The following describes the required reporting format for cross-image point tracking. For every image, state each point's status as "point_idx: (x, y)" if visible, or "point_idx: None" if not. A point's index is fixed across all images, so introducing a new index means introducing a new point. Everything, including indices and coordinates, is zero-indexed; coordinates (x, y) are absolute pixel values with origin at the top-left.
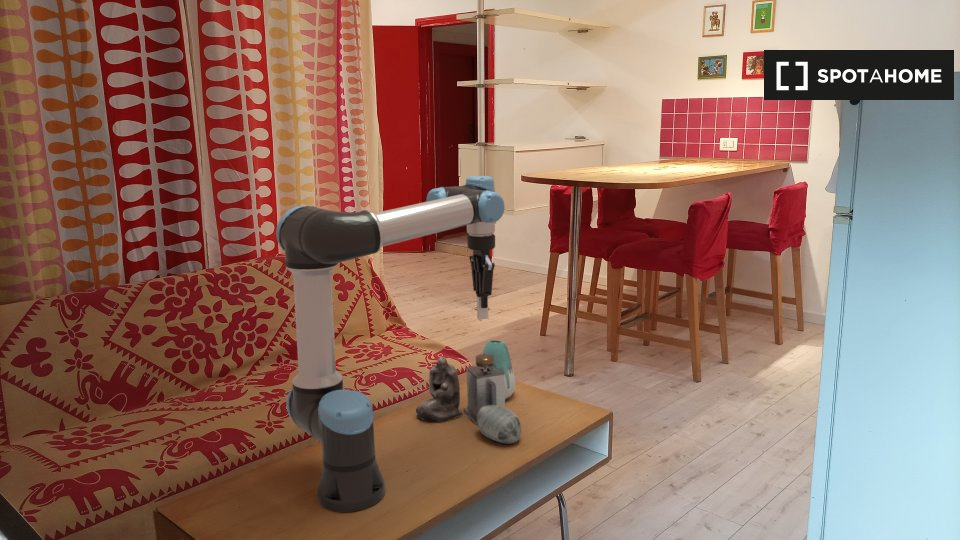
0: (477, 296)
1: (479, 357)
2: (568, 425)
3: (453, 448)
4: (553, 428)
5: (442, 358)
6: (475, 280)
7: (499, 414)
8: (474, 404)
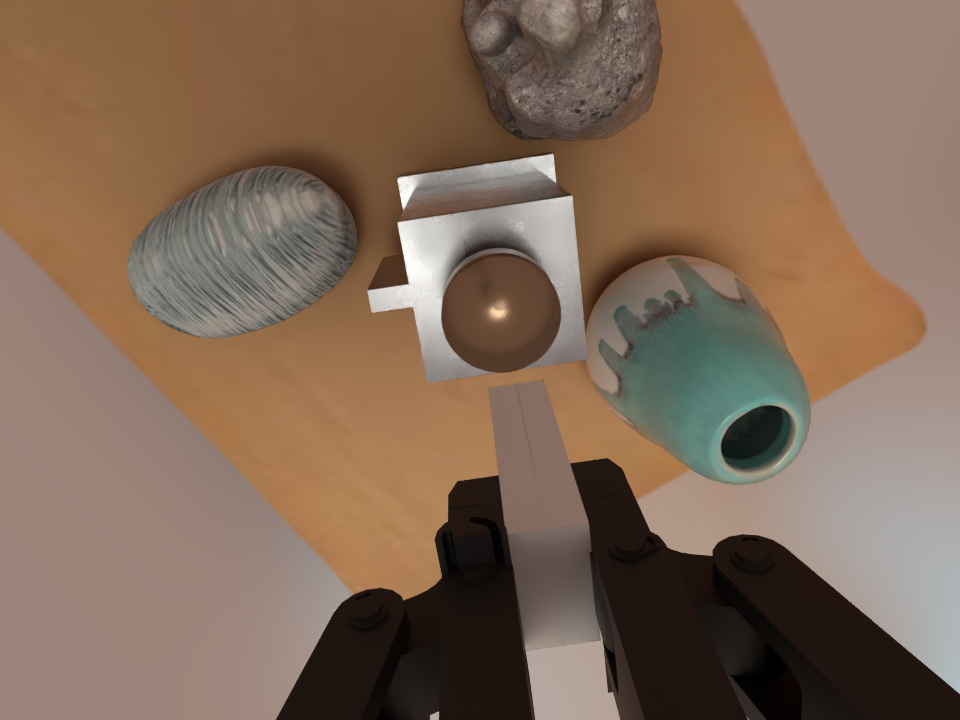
0: (466, 520)
1: (505, 283)
2: (319, 500)
3: (191, 28)
4: (304, 448)
5: (540, 11)
6: (824, 702)
7: (178, 261)
8: (450, 191)
